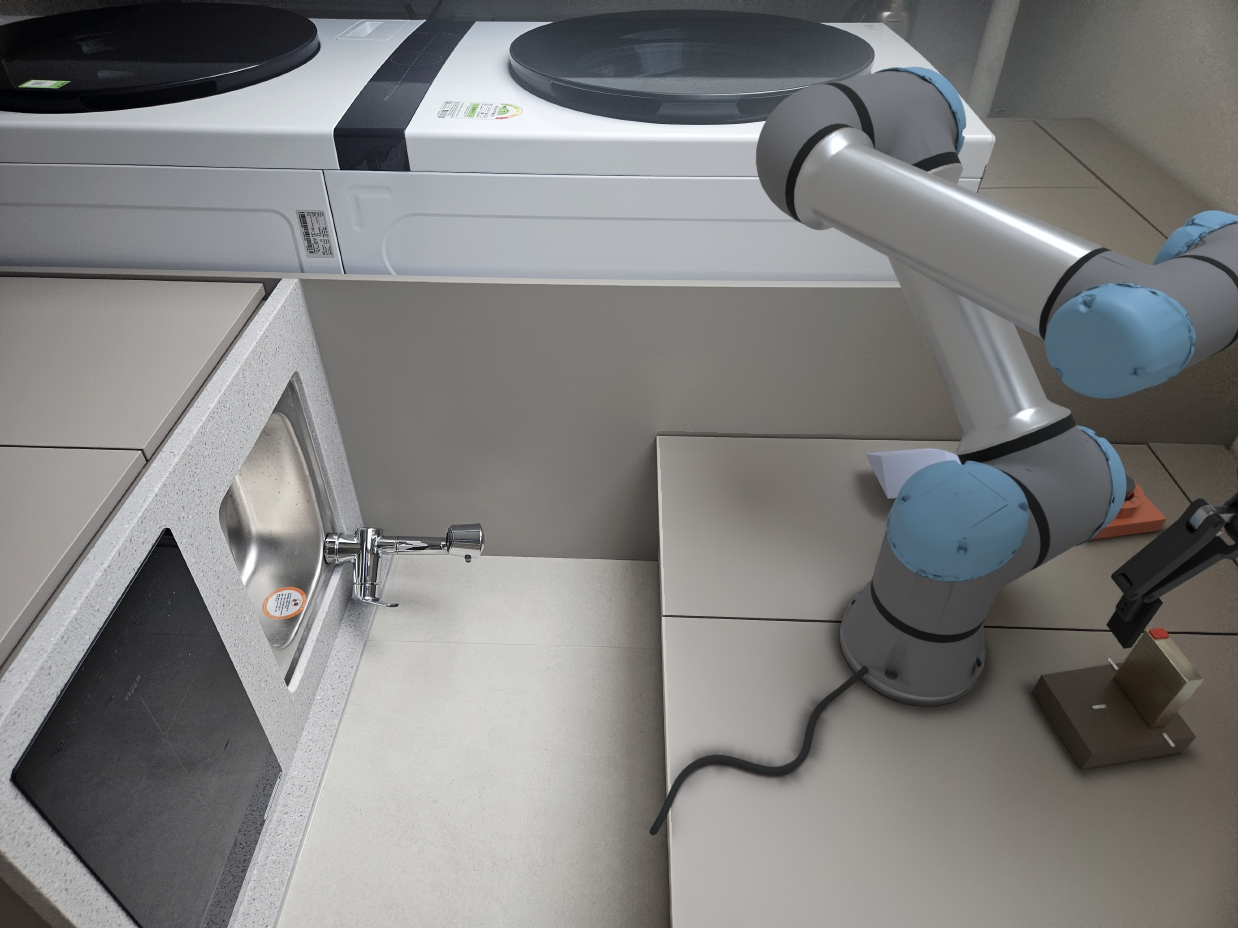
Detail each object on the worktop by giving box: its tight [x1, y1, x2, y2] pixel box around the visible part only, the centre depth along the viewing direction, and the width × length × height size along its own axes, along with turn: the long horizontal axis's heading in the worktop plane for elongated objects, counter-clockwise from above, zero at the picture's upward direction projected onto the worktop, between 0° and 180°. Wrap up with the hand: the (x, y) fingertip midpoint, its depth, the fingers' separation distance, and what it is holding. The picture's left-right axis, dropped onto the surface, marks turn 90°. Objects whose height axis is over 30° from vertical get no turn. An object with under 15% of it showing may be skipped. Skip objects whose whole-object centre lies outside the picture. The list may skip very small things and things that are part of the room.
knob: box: [1114, 627, 1205, 728], centre depth 79 cm, size 6×2×8 cm, turn 9°
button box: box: [1089, 480, 1167, 541], centre depth 104 cm, size 10×9×4 cm
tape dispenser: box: [864, 447, 961, 499], centre depth 107 cm, size 9×7×13 cm
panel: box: [1032, 657, 1197, 770], centre depth 82 cm, size 13×10×3 cm
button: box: [1124, 473, 1136, 501], centre depth 103 cm, size 4×4×2 cm
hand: (1186, 627), depth 74 cm, fingers open, 13 cm apart
